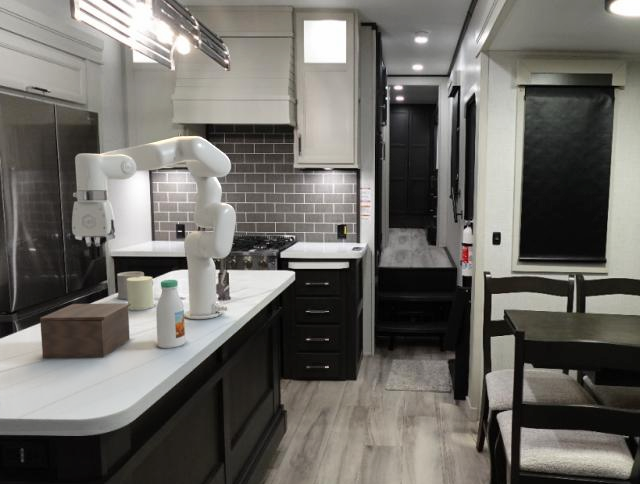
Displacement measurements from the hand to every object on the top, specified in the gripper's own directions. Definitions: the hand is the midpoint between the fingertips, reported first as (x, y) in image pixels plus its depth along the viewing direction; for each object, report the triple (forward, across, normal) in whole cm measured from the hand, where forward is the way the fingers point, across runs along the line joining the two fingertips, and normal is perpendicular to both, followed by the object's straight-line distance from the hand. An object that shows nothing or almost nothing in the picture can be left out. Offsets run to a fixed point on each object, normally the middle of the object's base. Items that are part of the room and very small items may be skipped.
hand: (96, 259), depth 145 cm
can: (+27, -10, +48) cm, 56 cm away
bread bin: (+27, -4, 0) cm, 27 cm away
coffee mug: (+27, -20, +66) cm, 74 cm away
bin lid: (+16, -3, 0) cm, 16 cm away
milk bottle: (+27, +19, +3) cm, 34 cm away
